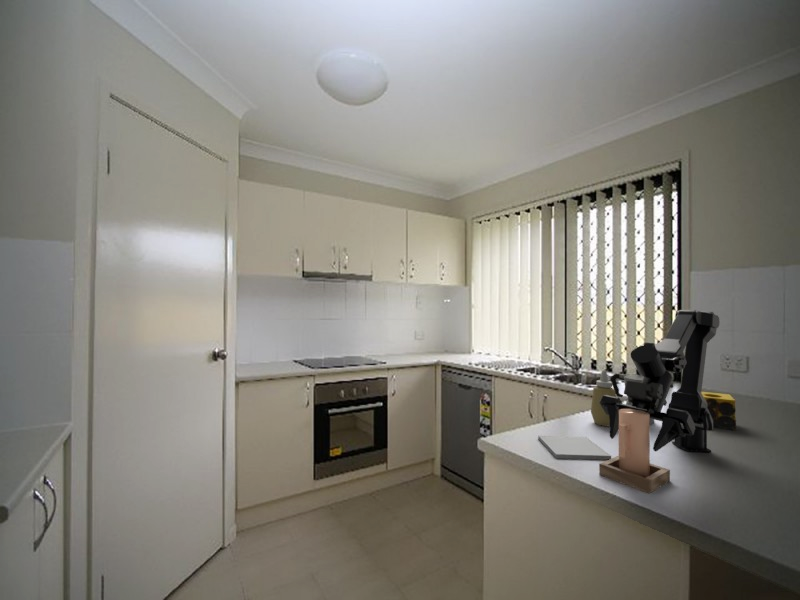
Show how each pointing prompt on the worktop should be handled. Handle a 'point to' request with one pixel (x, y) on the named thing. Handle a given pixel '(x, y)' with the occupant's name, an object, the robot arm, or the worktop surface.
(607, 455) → the pad
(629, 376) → the coffeepot
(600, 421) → the squeeze bottle
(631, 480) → the collar
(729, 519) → the worktop surface
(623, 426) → the tan piece
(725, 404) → the yellow spotted cube
